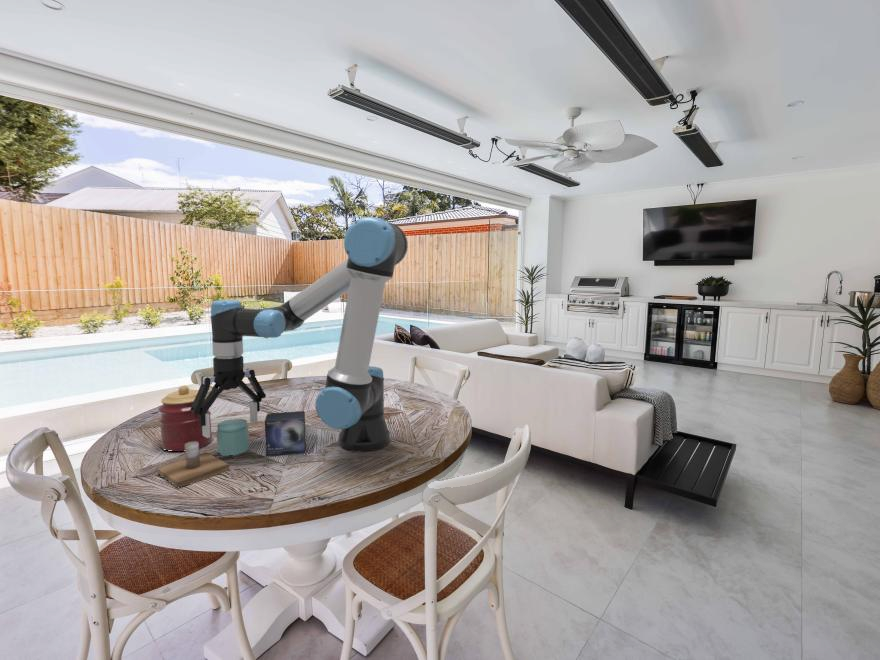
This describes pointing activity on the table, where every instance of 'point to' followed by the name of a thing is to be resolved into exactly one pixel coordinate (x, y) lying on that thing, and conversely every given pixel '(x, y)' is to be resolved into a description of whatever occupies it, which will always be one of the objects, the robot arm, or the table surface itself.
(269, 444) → the small box
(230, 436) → the lidded container
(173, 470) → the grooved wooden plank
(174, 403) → the canister
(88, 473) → the table surface
